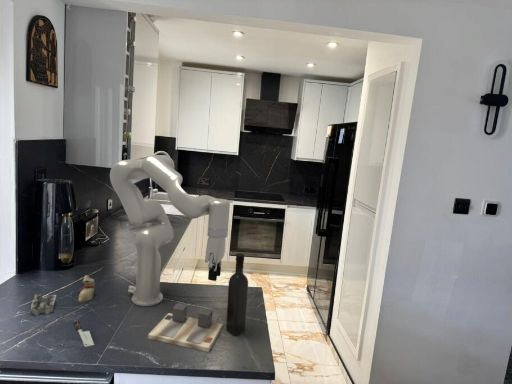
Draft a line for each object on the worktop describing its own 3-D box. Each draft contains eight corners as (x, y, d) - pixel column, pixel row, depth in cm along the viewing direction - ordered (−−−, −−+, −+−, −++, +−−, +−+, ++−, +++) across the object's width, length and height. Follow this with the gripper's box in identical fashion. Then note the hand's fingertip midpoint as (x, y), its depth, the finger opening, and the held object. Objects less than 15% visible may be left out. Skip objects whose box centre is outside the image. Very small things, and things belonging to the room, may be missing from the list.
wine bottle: (224, 330, 125) (228, 253, 119) (236, 324, 129) (240, 250, 123) (234, 337, 121) (239, 259, 115) (246, 331, 125) (251, 255, 119)
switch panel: (148, 338, 116) (148, 333, 115) (168, 316, 130) (168, 312, 130) (208, 352, 111) (208, 347, 111) (222, 327, 126) (222, 323, 126)
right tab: (197, 325, 122) (198, 313, 121) (201, 320, 126) (202, 307, 125) (207, 328, 121) (208, 315, 121) (211, 322, 125) (212, 310, 124)
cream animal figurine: (99, 296, 140) (99, 274, 138) (80, 303, 133) (80, 280, 132) (92, 292, 143) (92, 270, 141) (73, 298, 136) (73, 275, 135)
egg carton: (35, 302, 132) (35, 292, 131) (57, 300, 135) (57, 291, 134) (28, 316, 122) (28, 306, 121) (52, 314, 125) (52, 304, 124)
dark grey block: (172, 320, 124) (172, 308, 123) (176, 315, 128) (177, 302, 127) (182, 322, 123) (183, 310, 123) (186, 317, 127) (187, 304, 126)
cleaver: (100, 342, 111) (84, 344, 108) (99, 346, 111) (83, 348, 108) (88, 318, 124) (73, 319, 120) (87, 321, 124) (72, 323, 120)
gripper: (215, 225, 134) (212, 268, 137) (200, 236, 118) (196, 285, 121) (233, 227, 133) (229, 271, 136) (220, 239, 117) (216, 288, 120)
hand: (214, 277), depth 128 cm, fingers open, 3 cm apart
